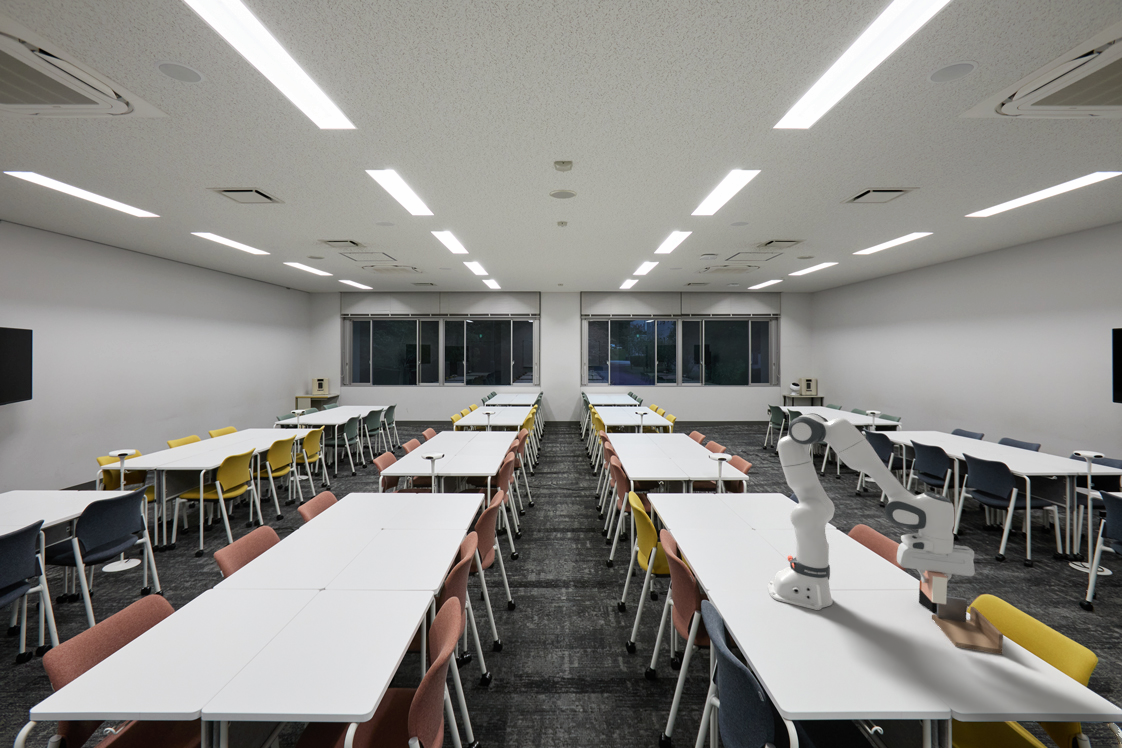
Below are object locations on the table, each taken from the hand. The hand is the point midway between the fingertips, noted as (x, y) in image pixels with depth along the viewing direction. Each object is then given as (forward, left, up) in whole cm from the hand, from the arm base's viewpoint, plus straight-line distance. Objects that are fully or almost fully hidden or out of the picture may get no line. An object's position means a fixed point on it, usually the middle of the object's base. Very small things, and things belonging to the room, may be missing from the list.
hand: (933, 583), depth 146 cm
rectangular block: (0, 0, -5) cm, 5 cm away
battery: (+8, +21, -19) cm, 29 cm away
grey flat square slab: (+10, +11, -17) cm, 23 cm away
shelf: (+11, +5, -19) cm, 22 cm away
